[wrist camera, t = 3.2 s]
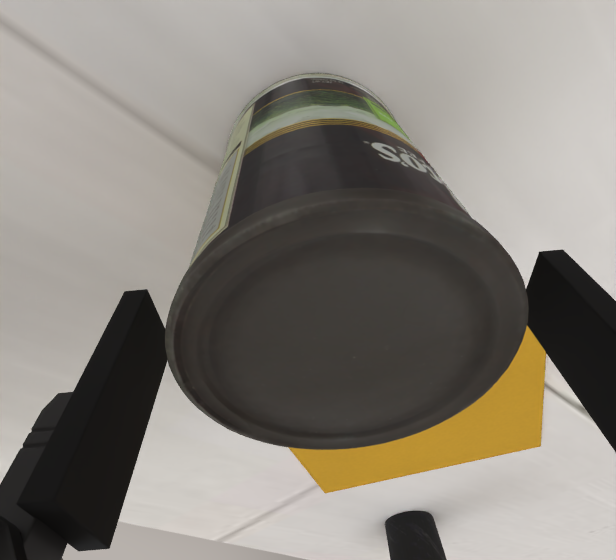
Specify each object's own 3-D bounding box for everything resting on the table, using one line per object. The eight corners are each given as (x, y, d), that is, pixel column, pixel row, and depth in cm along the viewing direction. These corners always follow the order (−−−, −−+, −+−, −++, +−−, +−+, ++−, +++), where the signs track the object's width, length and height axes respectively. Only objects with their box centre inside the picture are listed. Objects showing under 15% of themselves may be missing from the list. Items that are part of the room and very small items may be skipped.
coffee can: (334, 20, 18) (427, 92, 7) (432, 182, 23) (573, 371, 12) (183, 158, 21) (81, 353, 10) (299, 271, 27) (313, 479, 16)
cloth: (324, 490, 48) (324, 493, 48) (250, 395, 35) (249, 398, 35) (538, 443, 44) (540, 446, 44) (545, 314, 31) (548, 317, 30)
